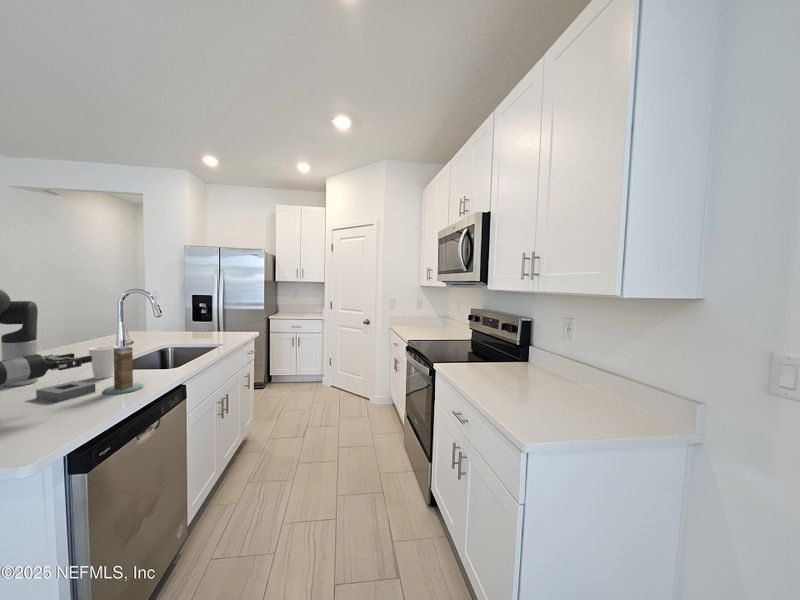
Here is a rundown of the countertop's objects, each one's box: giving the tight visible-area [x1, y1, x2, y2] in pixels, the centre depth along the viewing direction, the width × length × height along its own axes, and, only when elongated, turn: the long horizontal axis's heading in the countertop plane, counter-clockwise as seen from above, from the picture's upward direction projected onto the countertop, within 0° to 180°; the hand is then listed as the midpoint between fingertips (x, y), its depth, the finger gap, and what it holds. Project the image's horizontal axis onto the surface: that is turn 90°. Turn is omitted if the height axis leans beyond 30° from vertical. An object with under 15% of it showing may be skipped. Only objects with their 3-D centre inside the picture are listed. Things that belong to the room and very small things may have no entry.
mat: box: [102, 382, 144, 395], centre depth 128 cm, size 12×12×1 cm
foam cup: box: [88, 345, 119, 380], centre depth 143 cm, size 10×9×13 cm
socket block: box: [35, 380, 96, 403], centre depth 121 cm, size 11×11×3 cm
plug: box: [113, 345, 134, 390], centre depth 128 cm, size 4×4×16 cm
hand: (82, 357), depth 116 cm, fingers open, 8 cm apart
